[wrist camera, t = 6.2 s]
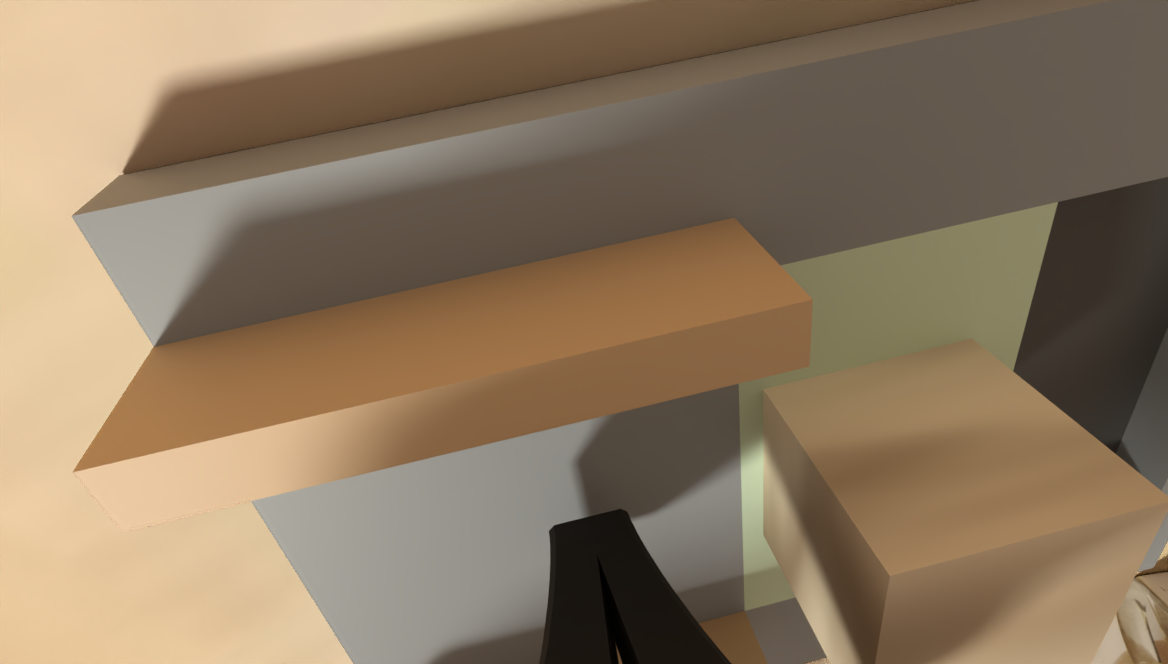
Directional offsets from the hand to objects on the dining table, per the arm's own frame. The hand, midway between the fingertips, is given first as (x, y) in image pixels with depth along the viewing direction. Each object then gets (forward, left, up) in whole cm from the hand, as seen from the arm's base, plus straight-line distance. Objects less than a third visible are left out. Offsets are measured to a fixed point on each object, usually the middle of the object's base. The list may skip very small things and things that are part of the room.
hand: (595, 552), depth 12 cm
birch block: (0, -6, -1) cm, 6 cm away
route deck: (0, -5, -2) cm, 5 cm away
